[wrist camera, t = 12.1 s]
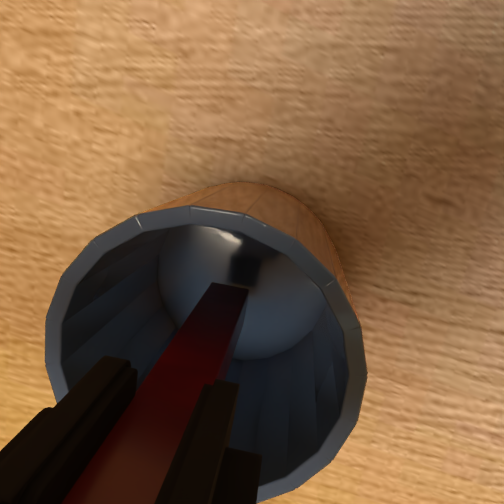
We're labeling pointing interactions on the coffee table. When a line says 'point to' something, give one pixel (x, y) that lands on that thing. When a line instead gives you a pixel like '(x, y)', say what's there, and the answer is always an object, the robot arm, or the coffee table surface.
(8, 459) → the robot arm
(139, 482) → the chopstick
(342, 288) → the cup
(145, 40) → the coffee table surface
